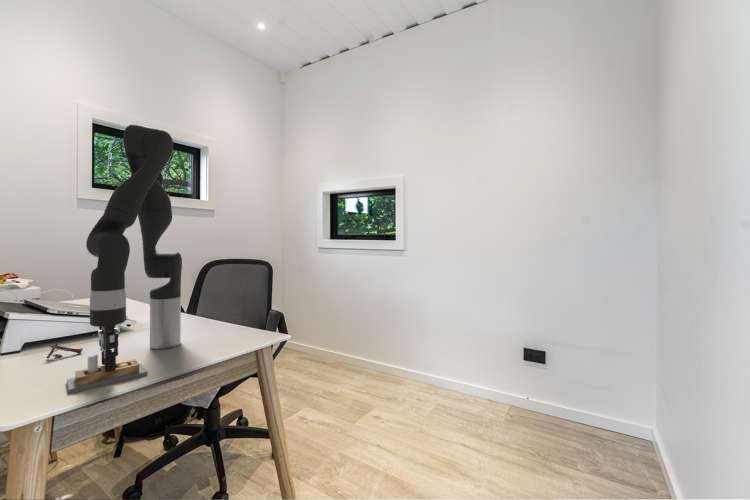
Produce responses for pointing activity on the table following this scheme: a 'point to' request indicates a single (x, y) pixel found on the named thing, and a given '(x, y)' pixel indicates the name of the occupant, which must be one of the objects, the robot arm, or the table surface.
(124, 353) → the table surface
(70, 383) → the base
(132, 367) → the holed bar
